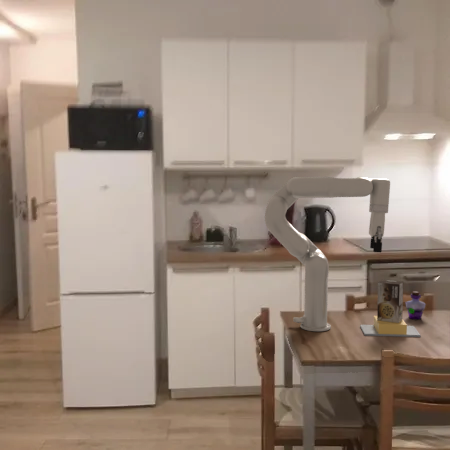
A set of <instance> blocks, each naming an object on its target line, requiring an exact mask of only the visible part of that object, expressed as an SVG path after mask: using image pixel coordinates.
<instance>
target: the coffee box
mask: <svg viewBox="0 0 450 450" xmlns="http://www.w3.org/2000/svg"><path fill="white" fill-rule="evenodd" d="M403 300H404V281H401V280H392V279H381V280H379V281H377V309H376V310H377V311H376V313H377V315H376V316H377V320H378V321H387V322H395V323H399V322H401V321H402V319H403V311H404V310H403V305H404V301H403Z"/></svg>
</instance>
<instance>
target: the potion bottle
mask: <svg viewBox="0 0 450 450" xmlns="http://www.w3.org/2000/svg"><path fill="white" fill-rule="evenodd" d="M410 298H411V300H408V301H405V307H406V310H407V314H408V319H409V320H413V321H414V320H415V321H418V320H419V321H420V320H421V319H422V317H423V313H424V310H425V309H426V305H427V304H426V303H425V302H424V301H421V300H420V299H421V298H422V295H421V294H420V291H416V290H415V291H412V292H411V293H410Z"/></svg>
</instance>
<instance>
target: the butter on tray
mask: <svg viewBox="0 0 450 450" xmlns="http://www.w3.org/2000/svg"><path fill="white" fill-rule="evenodd" d="M359 327H360V329H361V331H362V333H363V336H366V337H368V336H370V337H374V336H375V337H408V338H411V337H413V338H421V334H420V333H419V331H418V330H417V328H416V327H415V325H408V324H407V323H406V322H405V321H404V319H403V318H402V321H401V322H399V323H395V322H387V321H378V320H377V315H373V324H360V326H359Z"/></svg>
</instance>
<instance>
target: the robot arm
mask: <svg viewBox="0 0 450 450" xmlns="http://www.w3.org/2000/svg"><path fill="white" fill-rule="evenodd" d="M390 190H391V180H389V178H388V179H387V178H381V177H380V178H371V177H370V178H368V177H363V176H358V177H353V178H352V177H351V178H349V177H348V178H341V177H340V178H338V177H333V176H332V177H331V176H313V177H312V176H310V177H308V176H307V177H299V176H294V177H292V178H290V179H288V181H286V183H285V184H284V185H283V186H281V188H280V189H279V190H277V192H276V193H274V194H273V195H272V196H271V197H270V198H269V199H268V201H267V205H266V208H265V212H264V222H265V226H266V228H267V230H268V231H269V232H270V234H272V236H273V237H274V238H275V239H276V240H277V241H278V242H279V243H280V244H281V245H282V246H283V247H284V248H285V249H286V251H288V253H289V255H291V256H293V257H295V258H296V259H297V260H298V261H299V262H300V263H301V264H302V265H303V266H304V304H303V305H304V309H303V310H304V311H303V312H304V313H303V315H302V316H300V317H297V316H296V317H294V316H293V319H292V320H293V322H294V323H296V324H300V328H301V329H302V330H304V331H309V332H326V331H328V330H329V331H330V330H331V329H332V328H331V326H332V325H331V324H330V323H328V295H329V293H328V291H329V287H328V286H329V274H330V271H329V270H330V265H329V260H328V258H327V256H326V255H325V254H324V253H323V252H322V250H320V249H319V247H317V246H316V245H315V244H314V242H312V241H311V239H309V238H308V237H307V236H306V235H305V234H304V233H302V232H299V231H298V230H297V229H296V228H295V227H294V226H293V225H292V224H291V223H290V222H289V221H288V220H287V217H286V214H287V212H288V211H287V210H288V209H289V208H291V206H293V205H294V204H295V202H296V201H297V200H298V199H312V198H314V199H316V198H319V199H322V198H323V199H324V198H332V199H333V198H362V197H368V196H369V206H368V207H369V209H368V211H369V213H370V217H369V226H368V227H369V228H368V235H370V249H373V252H374V253H382V249H383V238H384V235H385V223H386V214H388V213H389V204H390V192H391V191H390Z"/></svg>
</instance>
